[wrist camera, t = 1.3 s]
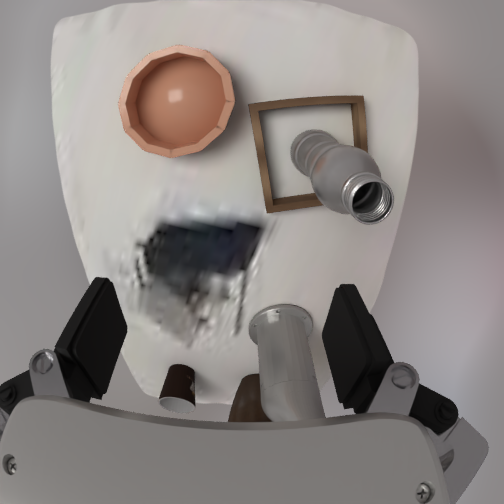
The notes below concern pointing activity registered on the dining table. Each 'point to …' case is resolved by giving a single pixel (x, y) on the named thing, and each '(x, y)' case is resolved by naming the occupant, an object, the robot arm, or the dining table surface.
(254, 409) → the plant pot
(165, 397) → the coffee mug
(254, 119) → the brown picture frame
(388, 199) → the grey metal bulbous cylinder
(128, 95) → the terracotta bowl
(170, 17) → the dining table surface
